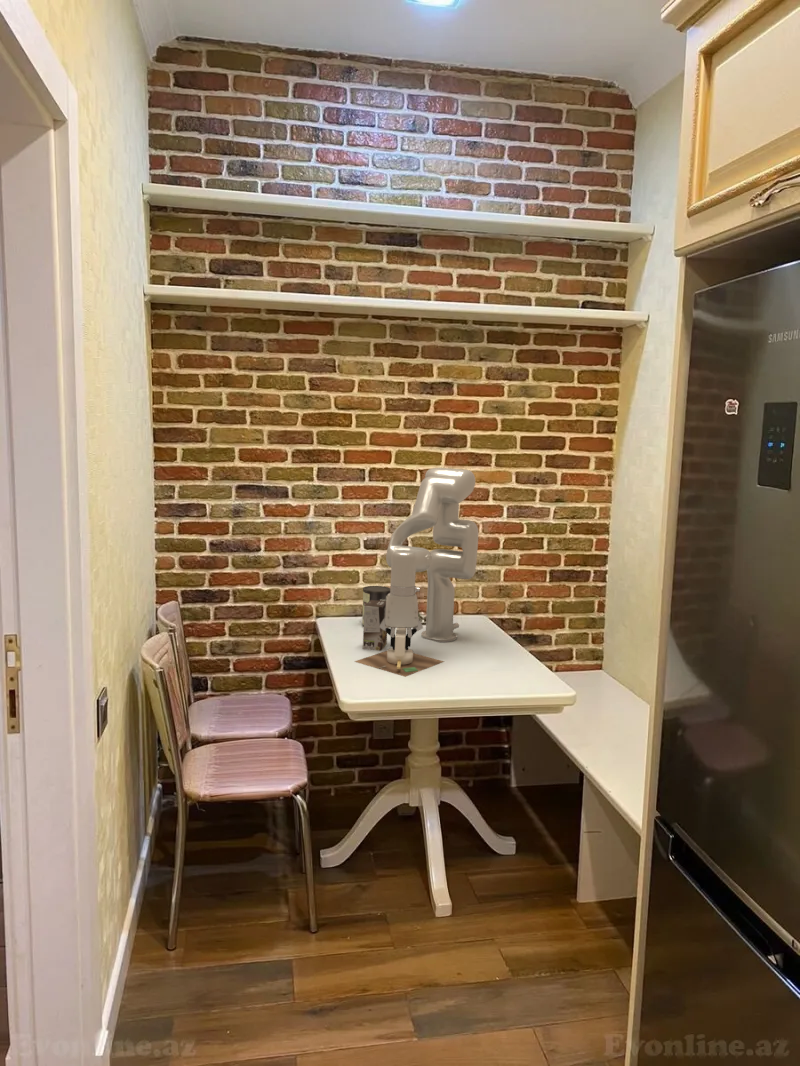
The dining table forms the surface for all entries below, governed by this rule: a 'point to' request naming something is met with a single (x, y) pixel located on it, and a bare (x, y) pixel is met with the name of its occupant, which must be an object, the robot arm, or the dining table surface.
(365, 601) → the coffee can
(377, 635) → the coffee box
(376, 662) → the dial board
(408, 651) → the dial knob
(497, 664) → the dining table surface
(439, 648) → the dining table surface
